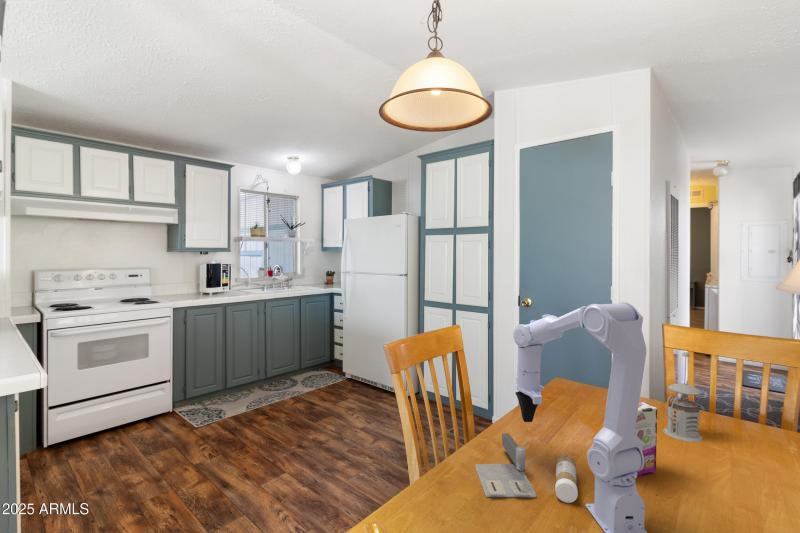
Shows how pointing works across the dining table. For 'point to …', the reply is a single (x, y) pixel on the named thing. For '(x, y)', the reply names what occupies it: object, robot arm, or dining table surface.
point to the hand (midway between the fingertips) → (527, 420)
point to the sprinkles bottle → (566, 479)
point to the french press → (683, 413)
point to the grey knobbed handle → (514, 451)
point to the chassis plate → (504, 481)
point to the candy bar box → (647, 436)
